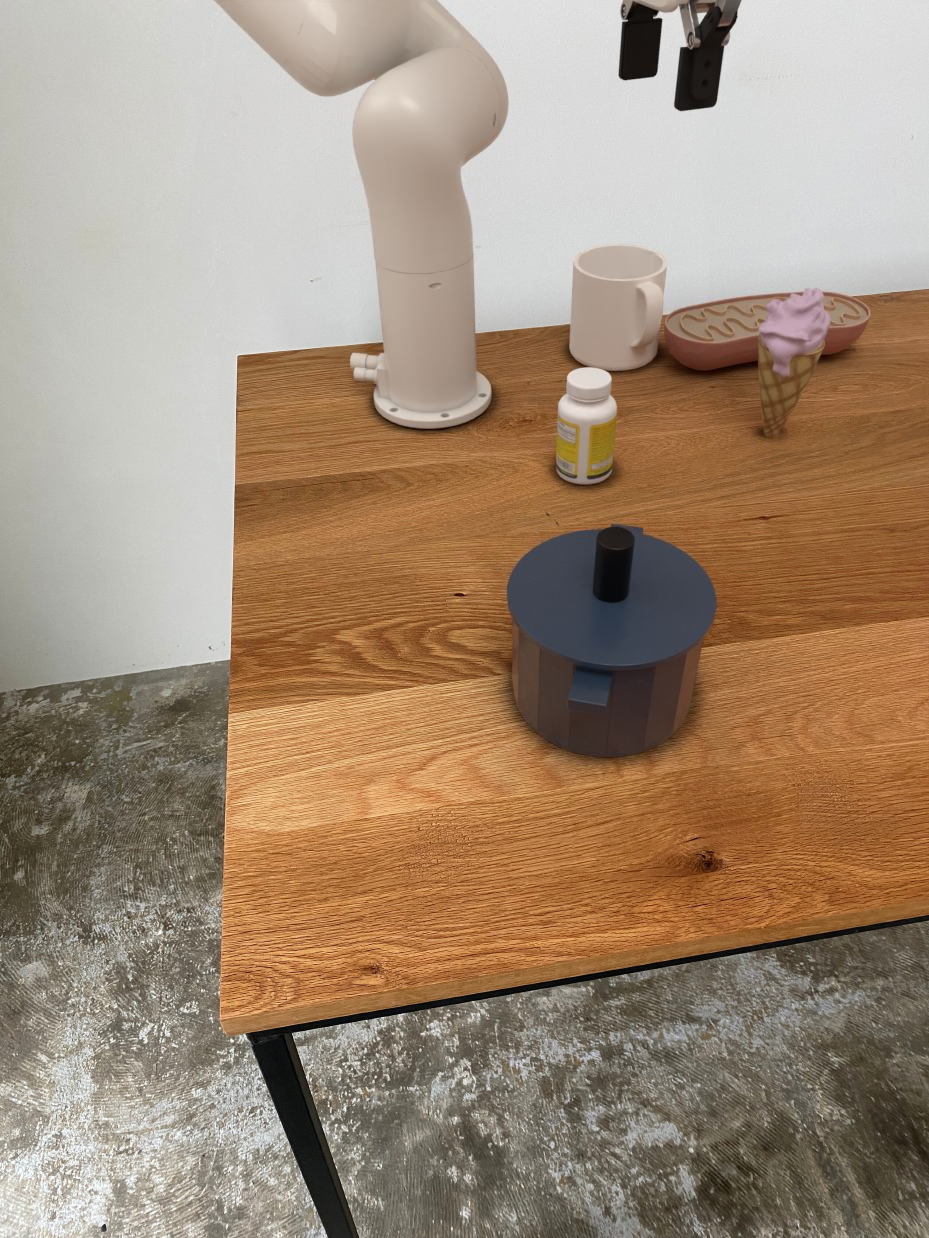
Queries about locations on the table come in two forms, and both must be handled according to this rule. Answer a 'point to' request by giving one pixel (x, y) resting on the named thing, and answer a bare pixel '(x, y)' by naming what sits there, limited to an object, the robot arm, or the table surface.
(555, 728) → the pot
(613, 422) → the supplement bottle
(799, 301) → the ice cream cone
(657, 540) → the pot lid
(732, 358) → the mitochondrion model
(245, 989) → the table surface
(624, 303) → the mug
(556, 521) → the table surface
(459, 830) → the table surface
